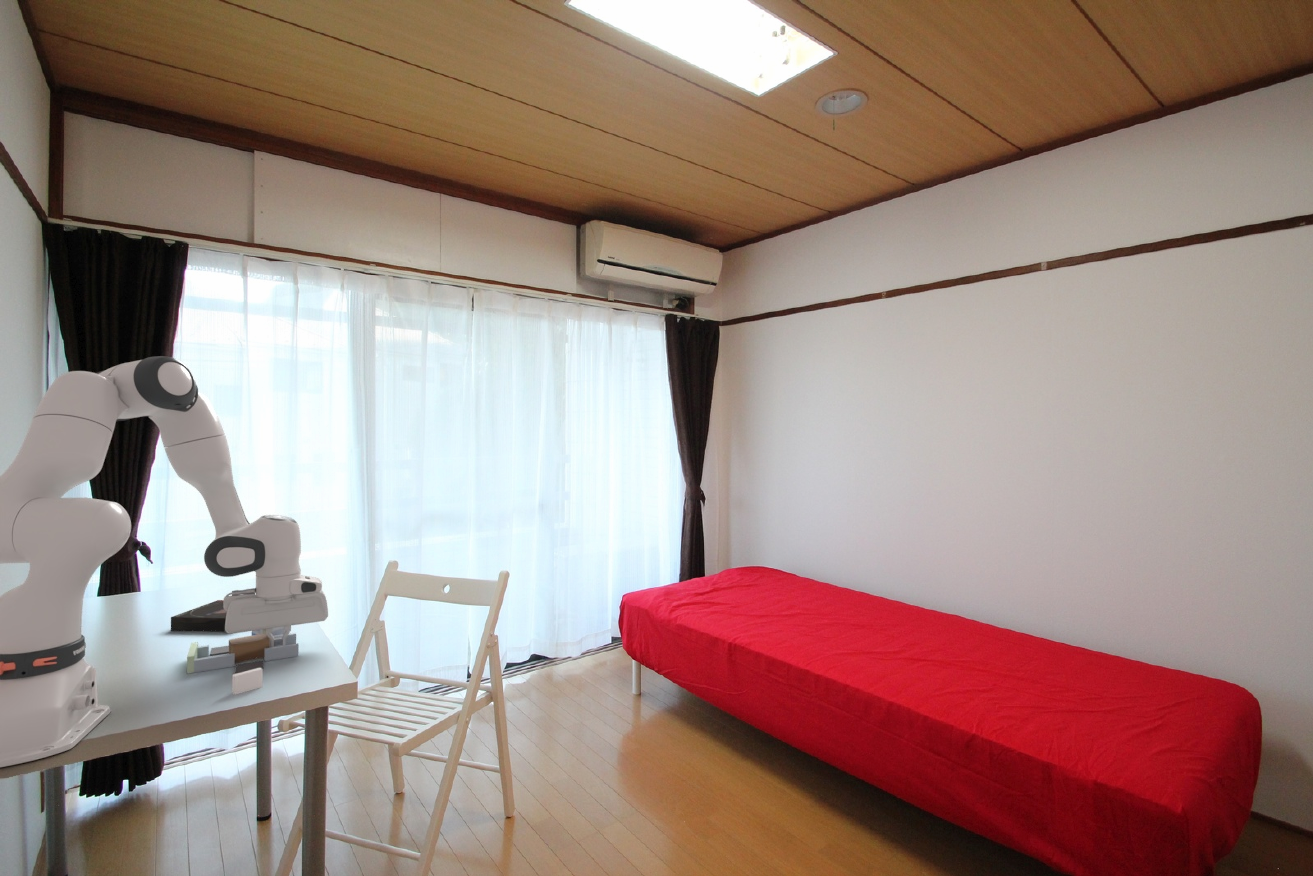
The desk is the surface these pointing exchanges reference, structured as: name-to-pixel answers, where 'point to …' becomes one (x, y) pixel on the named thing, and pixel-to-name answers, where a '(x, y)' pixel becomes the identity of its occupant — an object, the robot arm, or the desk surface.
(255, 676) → the eraser
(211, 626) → the portable cd player
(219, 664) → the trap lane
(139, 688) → the desk surface
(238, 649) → the walnut block
